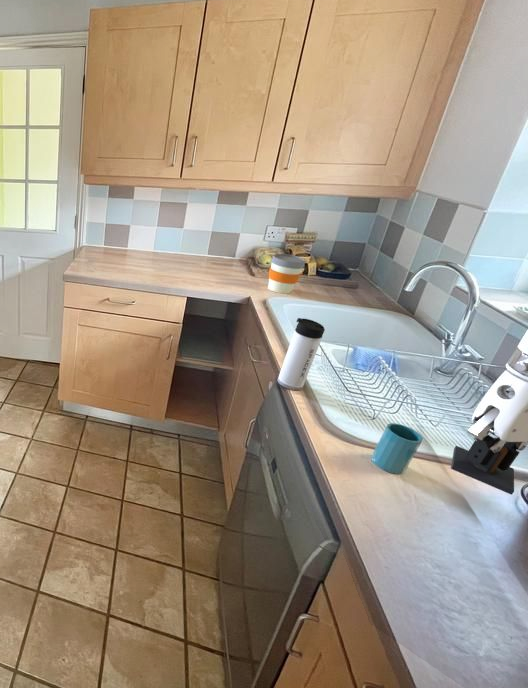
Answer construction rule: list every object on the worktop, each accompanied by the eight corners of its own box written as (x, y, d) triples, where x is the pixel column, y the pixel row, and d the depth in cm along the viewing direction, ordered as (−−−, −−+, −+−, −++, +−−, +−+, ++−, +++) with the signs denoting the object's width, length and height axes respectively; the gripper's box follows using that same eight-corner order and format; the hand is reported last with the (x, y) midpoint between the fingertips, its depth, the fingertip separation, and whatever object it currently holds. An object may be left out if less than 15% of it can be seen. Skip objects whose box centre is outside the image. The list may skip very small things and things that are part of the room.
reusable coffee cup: (269, 282, 195) (279, 251, 188) (299, 290, 186) (310, 259, 180) (258, 288, 187) (268, 256, 181) (289, 297, 178) (300, 264, 172)
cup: (399, 459, 93) (416, 428, 89) (408, 478, 88) (427, 445, 84) (367, 451, 95) (383, 420, 91) (375, 468, 90) (392, 436, 87)
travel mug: (277, 375, 123) (298, 314, 114) (303, 383, 119) (326, 321, 111) (274, 384, 118) (296, 322, 110) (301, 393, 115) (326, 330, 106)
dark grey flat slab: (453, 449, 72) (468, 425, 70) (511, 472, 67) (528, 447, 65) (450, 468, 67) (465, 444, 65) (511, 495, 63) (530, 469, 61)
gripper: (533, 386, 55) (466, 486, 63) (633, 381, 57) (556, 479, 64) (471, 356, 62) (417, 450, 69) (562, 352, 63) (500, 444, 71)
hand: (485, 463), depth 67 cm, fingers closed on dark grey flat slab, 2 cm apart
